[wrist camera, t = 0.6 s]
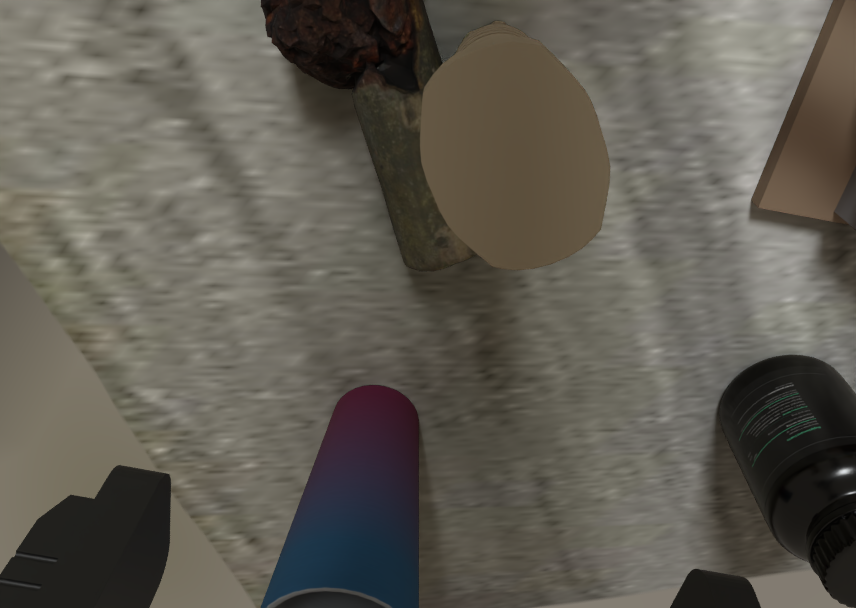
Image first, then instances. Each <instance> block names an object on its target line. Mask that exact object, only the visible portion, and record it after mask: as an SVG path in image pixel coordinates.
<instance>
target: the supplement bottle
mask: <svg viewBox="0 0 856 608" xmlns="http://www.w3.org/2000/svg"><path fill="white" fill-rule="evenodd" d="M720 423H721V426H722V429H723V432H724V434H725V436H726V439H727V441H728V443H729V445H730V447H731V449H732V451H733V454H734V456H735V458H736V460H737V462H738V464H739V466H740V468H741V470H742V472H743V474H744V477H745V479H746V481H747V483H748V485H749V487H750V489H751V491H752V493H753V495H754V498H755V500H756V502H757V504H758V506H759V508H760V510H761V512H762V514H763V516H764V518H765V521H766V523H767V525H768V527H769V529H770V530H771V532H772V534H773V536H774V537H775V539H776V540H777V541H778V542H779V543H780V545H781V546H782V547H784V548H785V549H786V550H787V551H788V552H790V553H791V554H793V555H794V556H796V557H798V558H800V559H802V560H804V561H807V562H809V563H810V565H811V567H812V569H813V571H814V572H815V573H816V574H817V575H818V576H819V578H820V580H821V582H822V584H823V586H824V587H825V589H826V591H827V592H829V594H830V595H831V597H832V598H833V599H836V600H838V602H839V603H841V604H845V605H846V606H848V607H854V608H856V393H855V392H854V391H853V390H852V388H851V387H850V386H849V384H848V383H847V382H846V381H845V380H844V378H843V377H842V376H841V375H840V374H839V373H838V372H837V371H836V370H835V369H834V368H833V367H832V366H830V365H829V364H827V363H825V362H823V361H821V360H819V359H816V358H813V357H809V356H803V355H782V356H776V357H772V358H768V359H765V360H763V361H760V362H758V363H756V364H754V365H752V366H750V367H749V368H747V369H746V370H744V371H743V372H742V373H740V374H739V375H738V376H737V377H736V378H735V379H734V380H733V381H732V383H731V384H730V385H729V387H728V388H727V390H726V391H725V393H724V396H723V398H722V401H721V404H720Z"/></svg>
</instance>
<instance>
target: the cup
mask: <svg viewBox="0 0 856 608" xmlns="http://www.w3.org/2000/svg"><path fill="white" fill-rule="evenodd" d="M261 608H419V419H418V414H417V411H416V409H415V407H414V405H413V404H412V403H411V402H410V400H409V399H408V398H407V397H405V396H404V395H403V394H401V393H400V392H398V391H396V390H394V389H391V388H389V387H384V386H379V385H368V386H362V387H358V388H355V389H353V390H351V391H349V392H348V393H346V394H345V395H344V396H342V398H341V399H340V400H339V401H338V403H337V405H336V407H335V409H334V412H333V415H332V417H331V420H330V423H329V425H328V428H327V431H326V433H325V436H324V439H323V441H322V444H321V447H320V449H319V452H318V455H317V458H316V460H315V463H314V466H313V468H312V471H311V474H310V476H309V479H308V482H307V484H306V487H305V490H304V492H303V495H302V498H301V501H300V503H299V506H298V509H297V511H296V514H295V517H294V519H293V522H292V525H291V527H290V530H289V533H288V535H287V538H286V541H285V544H284V546H283V549H282V552H281V554H280V557H279V560H278V562H277V565H276V568H275V570H274V573H273V576H272V578H271V581H270V584H269V587H268V589H267V592H266V595H265V597H264V600H263V603H262V605H261Z"/></svg>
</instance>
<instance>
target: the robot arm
mask: <svg viewBox="0 0 856 608" xmlns="http://www.w3.org/2000/svg"><path fill="white" fill-rule="evenodd" d="M170 498H171V479H170V475H169V474H167V473H161V472H155V471H149V470H144V469H138V468H133V467H127V466H121V465H118V466H116V467H115V468H114V469H113V470H112V471H111V473H110V474H109V476H108V478H107V479H106V481H105V482H104V484H103V486H102V487H101V489H100V491H99V492H98V494H97V496H96V497H95V499H92V498H86V497H80V496H74V495H70V496H68V497H67V498H66V499H64V500H63V501H62V502H60V503H59V504H58V505H56V506H55V507H53V508H52V509H51V510H49V511H48V512H47V513H46V514H44V515H43V516H41V517H40V518H39V519H38V520H37V521H36V523H35V524H34V525H33V527H32V528H31V530H30V531H29V533H28V534H27V536H26V537H25V539H24V540H23V542H22V543H21V545H20V546H19V548H18V549H17V550H16V555H15V557H12V558H11V559H10V561H9V562H8V564H7V565H6V567H5V568H4V570H3V571H2V573H1V574H0V608H149V607H150V605H151V603H152V600H153V598H154V596H155V593H156V591H157V589H158V587H159V584H160V581H161V579H162V575H163V573H164V569H165V566H166V561H167V557H168V552H169V544H170ZM670 608H761V607H760V604H759V602H758V599H757V597H756V594H755V592H754V589H753V587H752V585H751V584H750V582H749V581H748V580H747V579H746V578H744V577H740V576H734V575H728V574H723V573H717V572H711V571H706V570H700V569H694V570H692V571H691V572H690V573H689V574H688V576H687V577H686V579H685V581H684V583H683V585H682V586H681V588H680V590H679V592H678V594H677V596H676V598H675V599H674V601H673V603H672V605H671V607H670Z"/></svg>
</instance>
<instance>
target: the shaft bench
mask: <svg viewBox="0 0 856 608" xmlns="http://www.w3.org/2000/svg"><path fill="white" fill-rule="evenodd" d="M751 201H752V202H753V203H754V204H755V205H756V206H757V207H758V208H762V209H767V210H773V211H778V212H783V213H789V214H794V215H799V216H805V217H810V218H815V219H821V220H826V221H831V222H837V223H842V224H847V225H851V226H852V227H853V228H854V229H855V230H856V0H834V1H833V3H832V6H831V8H830V10H829V13H828V15H827V18H826V20H825V23H824V25H823V27H822V30H821V32H820V35H819V37H818V40H817V42H816V44H815V47H814V49H813V52H812V54H811V57H810V59H809V61H808V64H807V66H806V69H805V71H804V74H803V76H802V78H801V81H800V83H799V86H798V88H797V90H796V93H795V95H794V98H793V100H792V103H791V105H790V107H789V110H788V112H787V115H786V117H785V120H784V122H783V124H782V127H781V129H780V132H779V134H778V137H777V139H776V141H775V144H774V146H773V149H772V151H771V154H770V156H769V158H768V161H767V163H766V166H765V168H764V171H763V173H762V175H761V178H760V180H759V183H758V185H757V187H756V190H755V192H754V195H753V197H752V200H751Z"/></svg>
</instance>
